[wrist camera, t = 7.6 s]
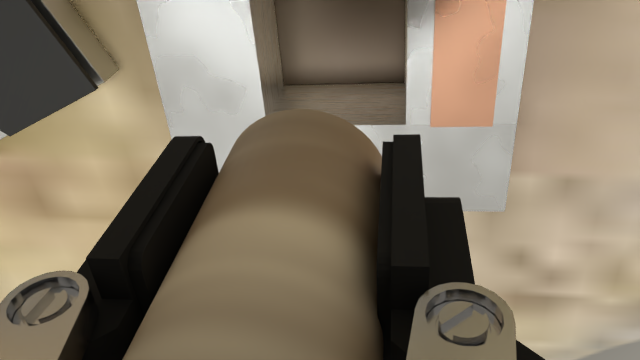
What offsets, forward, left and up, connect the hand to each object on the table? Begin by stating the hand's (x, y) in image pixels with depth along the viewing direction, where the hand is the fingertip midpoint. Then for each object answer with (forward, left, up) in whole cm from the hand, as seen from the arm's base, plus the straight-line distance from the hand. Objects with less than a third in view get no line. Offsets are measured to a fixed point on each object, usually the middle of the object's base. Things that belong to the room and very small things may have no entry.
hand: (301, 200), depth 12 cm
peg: (0, 0, -1) cm, 1 cm away
